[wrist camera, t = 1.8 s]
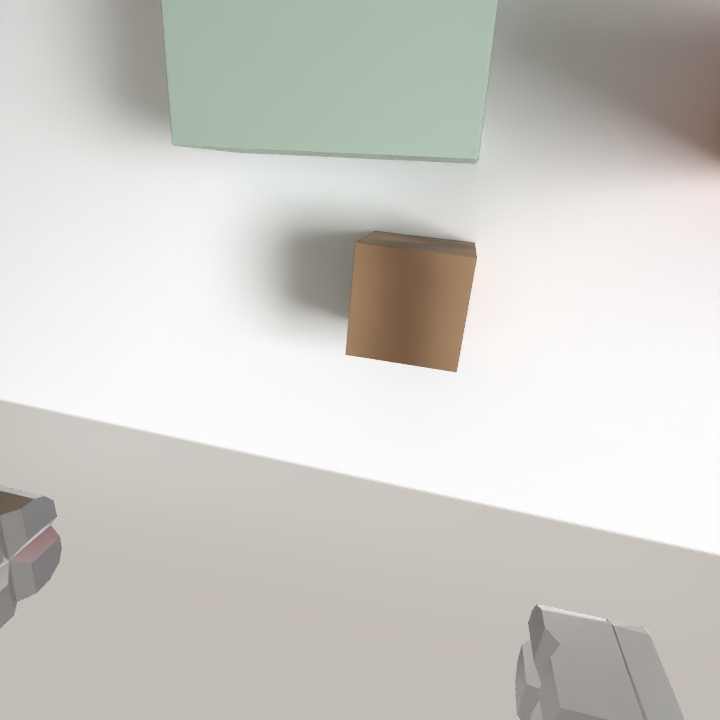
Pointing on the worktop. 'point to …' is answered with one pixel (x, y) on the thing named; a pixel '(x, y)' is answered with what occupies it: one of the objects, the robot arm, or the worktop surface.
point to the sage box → (330, 76)
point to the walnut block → (410, 299)
